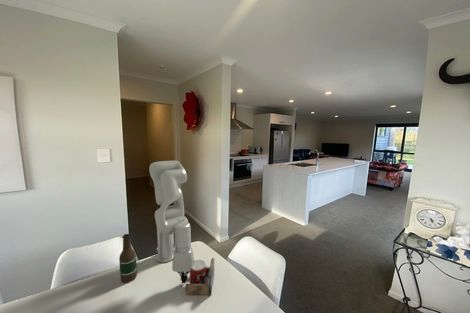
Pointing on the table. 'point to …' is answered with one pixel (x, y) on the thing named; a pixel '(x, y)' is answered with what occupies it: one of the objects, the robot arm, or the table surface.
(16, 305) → the table surface
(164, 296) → the table surface
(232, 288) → the table surface
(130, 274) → the beer bottle
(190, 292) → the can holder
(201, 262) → the canned food
